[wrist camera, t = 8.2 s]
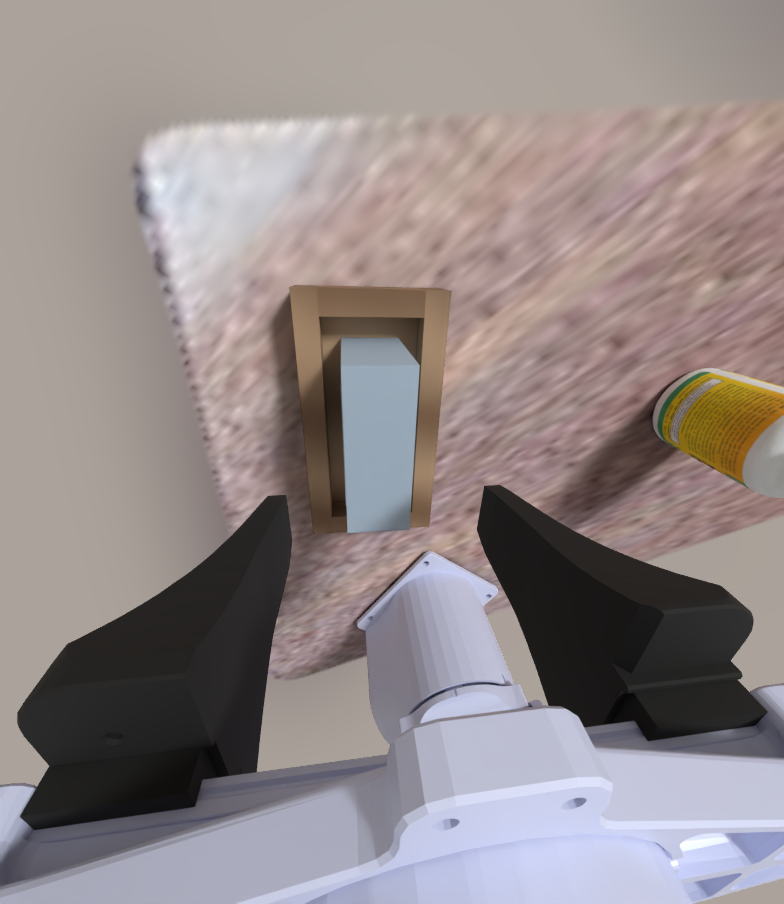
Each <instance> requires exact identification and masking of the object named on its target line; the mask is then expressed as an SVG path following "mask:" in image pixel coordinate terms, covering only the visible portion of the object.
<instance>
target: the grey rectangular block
mask: <svg viewBox="0 0 784 904" xmlns="http://www.w3.org/2000/svg"><path fill="white" fill-rule="evenodd" d="M419 368H420V365H419V364H418V363H417V361H416V360H415V359H414V358H413V356H412V355H411V354H410V352H409V351H408V350H407V349H406V347H405V346H404V345H403V343H402V342H401V341H400V340H399V338H351V337H341V407H342V430H343V454H344V478H345V502H346V506H347V531H348V533H358V532H374V531H390V530H407V529H410V514H411V497H412V481H413V465H414V449H415V433H416V417H417V400H418V384H419Z"/></svg>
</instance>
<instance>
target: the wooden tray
mask: <svg viewBox="0 0 784 904" xmlns="http://www.w3.org/2000/svg"><path fill="white" fill-rule="evenodd" d="M289 289H290V299H291V310H292V320H293V330H294V340H295V351H296V361H297V371H298V381H299V392H300V402H301V412H302V422H303V433H304V443H305V453H306V463H307V474H308V484H309V494H310V504H311V514H312V525H313V534H316V533H332V532H348V531H347V506H346V502H345V478H344V454H343V430H342V407H341V337H351V338H399V340H400V341H401V342H402V343H403V345H404V346H405V347H406V349H407V350H408V351H409V352H410V354H411V355H412V356H413V358H414V359H415V360H416V361H417V363H418V364H419V365H420V368H419V384H418V400H417V417H416V433H415V449H414V465H413V481H412V497H411V514H410V528H415V527H429V523H430V512H431V501H432V491H433V480H434V470H435V459H436V448H437V438H438V427H439V416H440V406H441V395H442V384H443V374H444V363H445V353H446V342H447V331H448V321H449V310H450V299H451V291H449V290H445V289H440V288H400V287H356V286H312V285H294V286H292V287H289Z"/></svg>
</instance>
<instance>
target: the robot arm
mask: <svg viewBox="0 0 784 904" xmlns="http://www.w3.org/2000/svg"><path fill="white" fill-rule="evenodd" d="M477 531H478V534H479V537H480V540H481V543H482V546H483V549H484V552H485V554H486V556H487V558H488V560H489V562H490V564H491V566H492V568H493V570H494V572H495V574H496V576H497V578H498V580H499V582H500V584H501V586H502V588H503V589H504V591H505V593H506V595H507V597H508V599H509V601H510V603H511V605H512V607H513V609H514V612H515V614H516V616H517V618H518V621H519V623H520V626H521V629H522V631H523V633H524V636H525V639H526V641H527V644H528V647H529V650H530V653H531V655H532V658H533V661H534V664H535V666H536V669H537V672H538V675H539V678H540V681H541V684H542V687H543V690H544V693H545V696H546V699H547V702H548V705H549V706H545V705H543V704H542V703H541V702H540V701H539V700H534V701H531V702H529V703H527V700H526V698H525V696H524V693H523V691H522V689H521V686H520V684H514V681H513V680H512V677H511V674H510V672H509V669H508V667H507V664H506V662H505V660H504V657H503V655H502V652H501V650H500V648H499V645H498V643H497V641H496V638H495V635H494V633H493V631H492V629H491V626H490V623H489V621H488V619H487V616H486V614H485V611H484V609H483V606H484V605H485V604H486V603H487V602H489V601H490V600H491V599H492V598H493V597H494V596H496V595H497V593H498V589H497V587H496V586H495V585H493V584H491V583H489V582H487V581H485V580H484V579H482V578H480V577H478V576H476V575H474V574H473V573H471V572H469V571H467V570H465V569H463V568H462V567H460V566H458V565H456V564H454V563H453V562H451V561H449V560H447V559H445V558H443V557H442V556H440V555H438V554H436V553H434V552H432V551H429V552H426V553H425V554H423V555H422V556H421V557H420V558H419V559H418V560H417V561H416V562H415V563H414V564H413V565H412V566H411V567H410V568H409V569H408V570H407V571H406V572H405V573H404V574H403V575H402V576H401V577H400V578H399V579H398V580H397V581H396V582H395V583H394V584H393V585H392V586H391V587H390V588H389V589H388V590H387V591H386V592H385V593H384V594H383V595H382V596H381V597H380V598H379V599H378V600H377V601H376V602H375V603H374V604H373V605H372V606H371V607H370V608H369V609H368V610H367V611H366V612H365V613H364V614H363V615H362V616H361V617H360V618H359V619H358V621H357V627H358V628H359V629H362V630H364V631H365V632H366V647H367V663H368V679H369V695H370V705H371V710H372V713H373V716H374V719H375V722H376V724H377V726H378V729H379V731H380V732H381V734H382V736H383V737H384V739H385V740H386V741H387V742H388V743H389V744H390V748H389V751H388V754H387V755H380V756H373V757H367V758H358V759H351V760H344V761H336V762H329V763H322V764H314V765H307V766H300V767H292V768H285V769H278V770H270V771H263V772H257V762H258V753H259V742H260V733H261V725H262V715H263V707H264V698H265V691H266V683H267V675H268V667H269V660H270V653H271V646H272V639H273V634H274V629H275V624H276V620H277V616H278V612H279V608H280V604H281V599H282V595H283V591H284V587H285V583H286V579H287V575H288V570H289V565H290V557H291V548H292V535H291V528H290V521H289V513H288V506H287V498H286V495H278V496H268V497H267V498H266V499H265V500H264V501H263V502H262V503H261V504H260V505H259V506H258V508H257V509H256V510H255V511H254V512H253V513H252V514H251V515H250V517H249V518H248V519H247V520H246V521H245V522H244V523H243V524H242V525H241V526H240V527H239V528H238V529H237V530H236V532H235V533H234V534H233V535H232V536H231V537H230V538H229V539H228V540H227V541H226V542H224V543H223V544H222V545H221V546H220V547H219V548H218V549H217V550H216V551H215V552H214V553H213V554H212V555H210V556H209V557H208V558H207V559H206V560H204V561H203V562H202V563H201V564H200V565H198V566H197V567H196V568H194V569H193V570H192V571H191V572H189V573H188V574H187V575H185V576H184V577H182V578H181V579H179V580H178V581H176V582H175V583H174V584H172V585H171V586H169V587H168V588H166V589H165V590H164V591H162V592H161V593H160V594H158V595H156V596H155V597H153V598H151V599H150V600H148V601H147V602H145V603H143V604H142V605H140V606H138V607H137V608H135V609H133V610H131V611H130V612H128V613H126V614H125V615H123V616H121V617H119V618H117V619H116V620H114V621H112V622H110V623H108V624H106V625H104V626H102V627H100V628H98V629H96V630H94V631H92V632H90V633H88V634H87V635H85V636H83V637H81V638H79V639H77V640H75V641H73V642H71V643H68V644H67V645H66V647H65V648H64V649H63V650H62V651H61V653H60V654H59V655H58V657H57V658H56V659H55V661H54V662H53V663H52V664H51V666H50V667H49V669H48V670H47V672H46V673H45V674H44V675H43V677H42V678H41V680H40V681H39V683H38V684H37V685H36V687H35V688H34V689H33V691H32V692H31V693H30V695H29V696H28V698H27V699H26V700H25V702H24V703H23V705H22V706H21V708H20V710H19V711H18V715H17V716H18V717H17V721H18V722H17V723H18V726H19V728H20V730H21V732H22V734H23V735H24V737H25V738H26V739H27V740H28V742H30V744H31V745H32V746H33V747H34V748H35V749H36V751H37V752H38V753H39V754H40V755H41V757H42V758H43V759H44V760H45V761H46V762H47V763H48V765H49V768H48V769H47V771H46V773H45V775H44V776H43V778H42V780H41V781H40V783H39V785H38V786H37V787H36V786H35V785H31V784H26V783H12V784H5V785H0V904H694V903H697V902H701V901H704V900H708V899H711V898H715V897H718V896H722V895H725V894H729V893H732V892H736V891H739V890H743V889H746V888H750V887H753V886H757V885H760V884H764V883H768V882H771V881H774V880H778V879H782V878H784V683H782V684H775V685H767V686H762V687H758V688H756V689H754V690H752V691H750V692H749V691H748V690H747V689H746V688H745V687H744V686H743V685H742V684H741V683H740V682H739V681H738V680H737V679H741V677H742V673H741V671H740V670H739V669H738V668H737V667H736V666H735V665H734V664H733V663H732V662H731V659H732V658H733V656H734V655H735V654H736V653H737V651H738V650H739V649H740V647H741V646H742V645H743V643H744V642H745V641H746V639H747V638H748V636H749V634H750V633H751V631H752V627H753V616H752V613H751V611H749V610H748V609H747V608H746V607H745V606H744V605H743V604H741V603H740V602H739V601H738V600H737V599H736V598H734V597H733V596H732V595H731V594H730V593H729V592H728V591H726V590H725V589H724V588H723V587H722V586H720V585H716V584H713V583H709V582H706V581H702V580H698V579H694V578H691V577H688V576H684V575H680V574H677V573H674V572H671V571H668V570H665V569H662V568H659V567H656V566H653V565H650V564H647V563H645V562H642V561H639V560H637V559H634V558H631V557H629V556H627V555H624V554H622V553H619V552H617V551H614V550H612V549H610V548H608V547H605V546H603V545H601V544H599V543H597V542H595V541H593V540H591V539H589V538H587V537H585V536H583V535H581V534H579V533H577V532H575V531H573V530H571V529H570V528H568V527H566V526H564V525H563V524H561V523H559V522H557V521H556V520H554V519H553V518H551V517H549V516H548V515H546V514H544V513H543V512H541V511H540V510H538V509H537V508H535V507H534V506H532V505H531V504H529V503H528V502H526V501H524V500H523V499H521V498H520V497H518V496H517V495H515V494H514V493H512V492H511V491H509V490H508V489H506V488H504V487H502V486H501V485H493V486H484V491H483V497H482V503H481V508H480V514H479V520H478V526H477ZM425 561H427V562H425ZM424 562H425V563H424Z"/></svg>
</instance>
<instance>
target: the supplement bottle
mask: <svg viewBox="0 0 784 904" xmlns="http://www.w3.org/2000/svg"><path fill="white" fill-rule="evenodd" d="M653 427H654V430H655V432H656V434H657V435H658V436H659V437H660V438H661V439H662V440H663V441H665V442H666V443H668V444H670V445H671V446H673V447H675V448H677V449H679V450H680V451H683V452H684V453H686V454H688V455H690V456H691V457H693V458H695V459H697V460H698V461H700V462H702V463H704V464H706V465H708V466H710V467H711V468H713V469H715V470H717V471H719V472H720V473H722V474H724V475H726V476H728V477H729V478H731V479H733V480H735V481H736V482H738V483H740V484H742V485H744V486H746V487H747V488H749V489H751V490H753V491H755V492H757V493H759V494H762V495H765V496H769V497H777V498H784V387H782V386H778V385H775V384H771V383H768V382H764V381H761V380H757V379H754V378H750V377H747V376H743V375H740V374H736V373H733V372H729V371H725V370H721V369H716V368H704V369H699V370H696V371H693V372H690V373H688V374H686V375H685V376H683V377H681V378H680V379H679V380H677V381H676V382H674V383H673V384H672V385H671V386H670V387H668V388H667V390H666V391H665V392H664V393H663V394H662V396H661V397H660V398H659V400H658V402H657V404H656V406H655V409H654V413H653Z"/></svg>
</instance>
